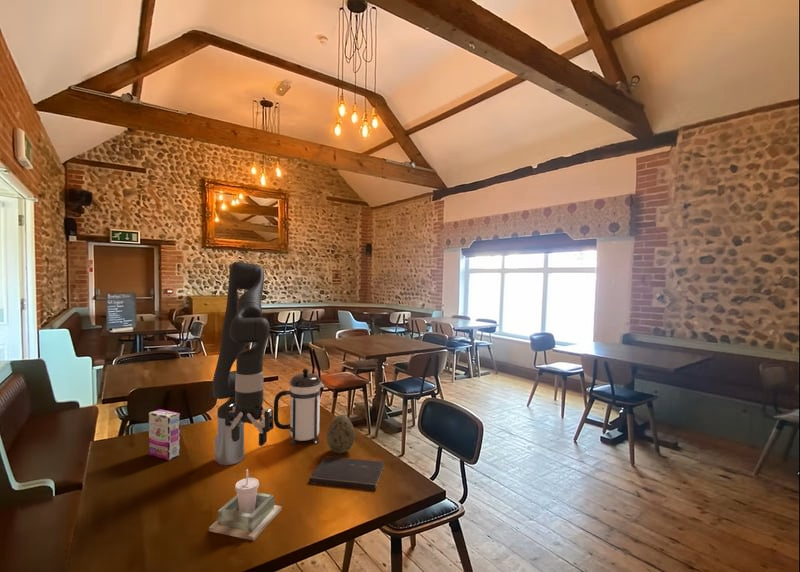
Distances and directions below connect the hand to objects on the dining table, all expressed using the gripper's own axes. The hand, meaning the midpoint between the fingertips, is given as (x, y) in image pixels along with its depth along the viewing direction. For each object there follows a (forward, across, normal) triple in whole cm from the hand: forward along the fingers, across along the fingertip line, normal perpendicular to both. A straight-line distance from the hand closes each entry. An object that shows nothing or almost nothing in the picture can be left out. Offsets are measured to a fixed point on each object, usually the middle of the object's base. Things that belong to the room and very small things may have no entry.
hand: (249, 442), depth 114 cm
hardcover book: (+23, +19, +30) cm, 43 cm away
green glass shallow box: (+22, 0, -1) cm, 22 cm away
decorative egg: (+22, +10, +45) cm, 51 cm away
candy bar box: (+23, -53, +23) cm, 62 cm away
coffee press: (+23, -10, +51) cm, 57 cm away
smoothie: (+21, 0, -1) cm, 21 cm away
